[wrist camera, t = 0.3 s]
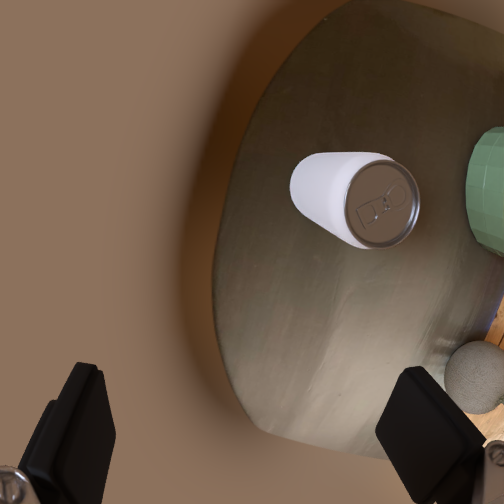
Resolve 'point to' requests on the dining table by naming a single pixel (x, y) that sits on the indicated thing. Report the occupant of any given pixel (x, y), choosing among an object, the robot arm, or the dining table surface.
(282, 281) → the dining table surface
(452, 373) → the fruit
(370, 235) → the can
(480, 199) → the green faceted bowl
